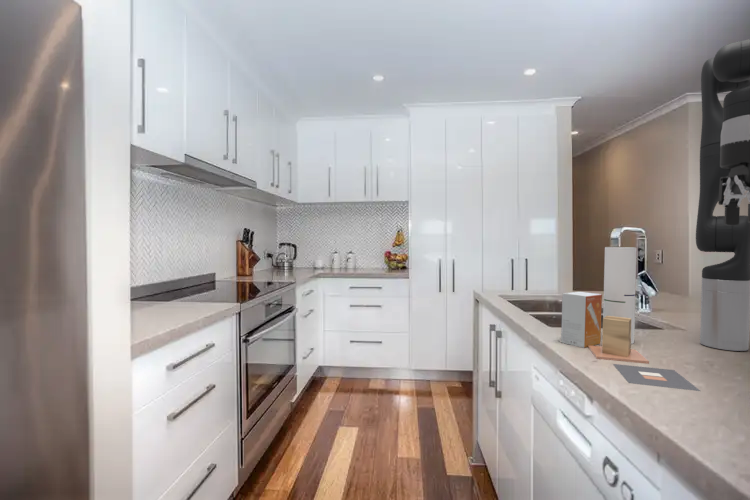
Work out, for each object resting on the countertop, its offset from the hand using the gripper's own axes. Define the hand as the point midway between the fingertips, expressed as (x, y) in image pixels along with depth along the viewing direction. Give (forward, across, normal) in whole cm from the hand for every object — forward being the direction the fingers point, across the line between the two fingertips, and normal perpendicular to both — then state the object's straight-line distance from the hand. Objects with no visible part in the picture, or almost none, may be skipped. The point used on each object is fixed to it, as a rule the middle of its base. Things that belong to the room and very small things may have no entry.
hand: (743, 224), depth 77 cm
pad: (+30, -6, -20) cm, 37 cm away
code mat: (+30, +8, -17) cm, 35 cm away
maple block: (+30, -6, -20) cm, 36 cm away
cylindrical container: (+30, -22, -16) cm, 41 cm away
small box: (+30, -15, -26) cm, 43 cm away
